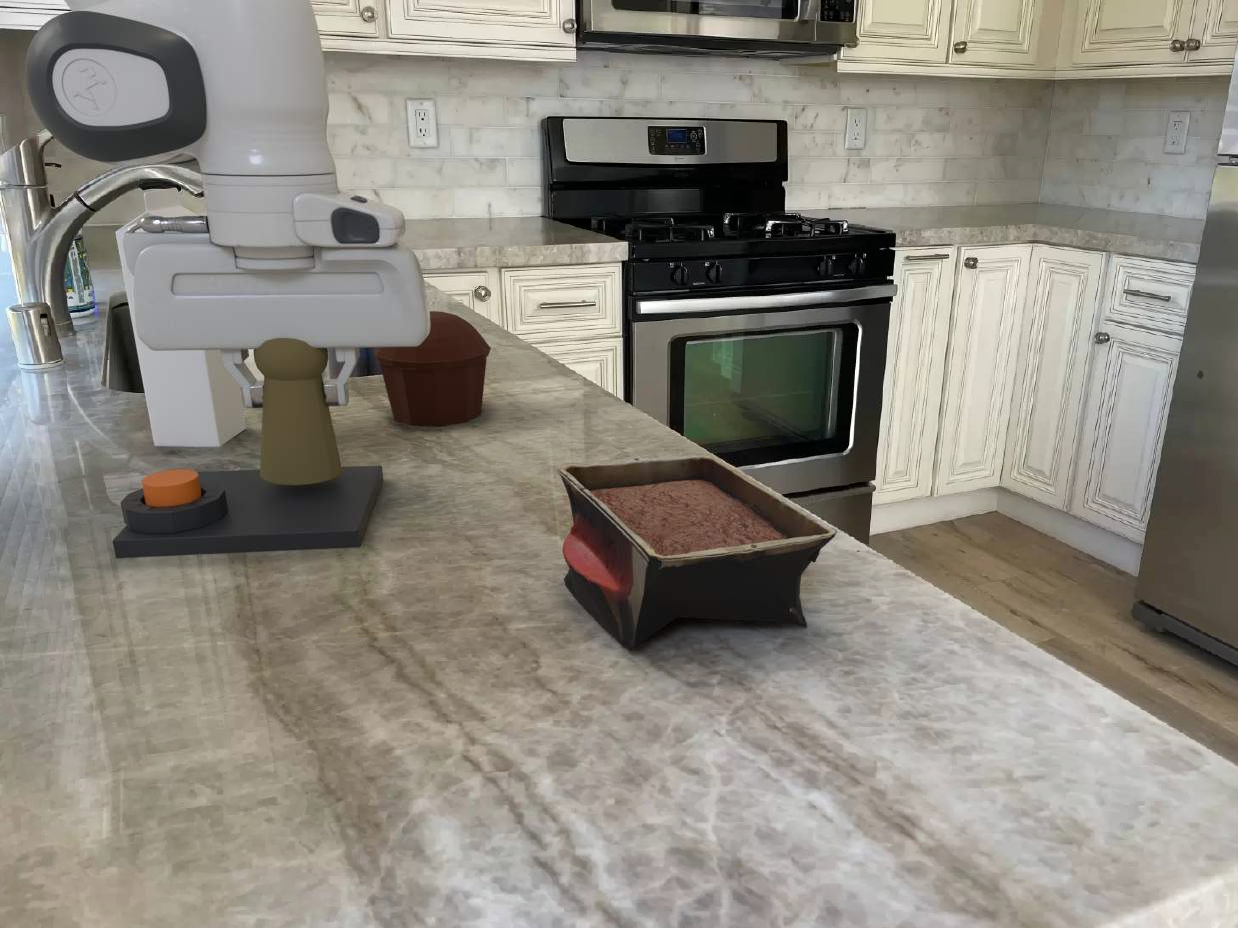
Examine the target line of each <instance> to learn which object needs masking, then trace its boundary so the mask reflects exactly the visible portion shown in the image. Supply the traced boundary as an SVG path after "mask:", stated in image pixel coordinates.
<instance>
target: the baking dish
mask: <svg viewBox="0 0 1238 928" xmlns="http://www.w3.org/2000/svg"><path fill="white" fill-rule="evenodd" d="M557 473H558V475H559V477H560V478H561V480H562V481H561V482H562V483H563V485H564V488H565V491H566V494H567V496H568V500H569V504H570V510H571V518H572V523H573V525H572V527H571V528H570V532H569V533H568V535H567V536H566V538H565V539H564V542H563V546H562V554H563V558H564V560H565V562H566V564H567V566H568V572H567V574H566V575H565V577H564V578H563V580H564V585H565V586H566V588H567V589H568V591H569V592H570V594H572V596H573V597H574V598H575V600H576V601H577V603H579V605H581V606H582V607H583V608H584V610H585V611H587V613H588V614H589V615H590V616H591V617H592V618H593V619H594V620H595V621H596V622H597V623H598V624H599V625H600V626H601V628H603V630H604V631H606V632H607V633H608V634H609V635H610V636H611V637H612V638H613V639H614V640H615V641H616V642H617V643H619V644H620V645H621V646H622V647H623V648H624V649H626V650H628V651H631V650H632V649H633V648H634V647H636V646H638V645H639V644H640V643H642V642H644V641H645V640H646V639H648V638H649V637H651V636H652V635H653V634H655V633H657V632H658V631H660V630H661V629H663V628H664V627H665V626H667V625H668V624H670V623H672V622H673V621H675V620H676V619H677V618H687V619H689V618H690V619H714V620H737V621H738V620H739V621H757V622H758V621H760V622H761V621H762V622H776V623H782V624H787V625H792V626H793V625H794V626H800V627H804V628H805V627H806V628H808V624H807V620H806V617H805V616H804V613H803V607H802V601H801V582H802V576H803V573H804V572H805V571H807V568H808V567H809V566H810V565H811V563H816V562H817V559H818V558H819V555H820V553H821V550H822V549H823V548H824V547H825V546H827V544H829V542H830V541H832V540H833V539H834V538H835V537H836V535H837V533H838V530H837V529H835V528H834V527H831V526H829V525H828V524H827V523H825V522H823V521H822V520H820V519H818V518H816V517H815V516H813V515H812V514H810V513H808V512H807V511H805V510H803V509H801V508H800V507H797V506H796V505H794V504H793V503H791V502H789V501H788V500H786V499H784V498H783V497H782V496H779V495H777V494H776V493H774V492H772V491H771V490H770V489H768V488H766V487H764V486H763V484H760V483H758V482H757V481H755V480H753V479H752V478H749V477H748V476H746V475H745V474H743V472H741V471H739V470H738V469H736V468H733V467H732V466H730V465H729V464H727V463H726V462H724V461H722V460H721V459H719V458H715V457H713V456H707V455H702V454H700V455H696V454H692V455H667V456H666V455H665V456H664V455H663V456H649V457H638V458H619V459H618V458H617V459H608V460H597V461H586V462H581V463H578V462H577V463H571V464H566V465H563V466H560V467H559V468H557Z"/></svg>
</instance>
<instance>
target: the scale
mask: <svg viewBox="0 0 1238 928" xmlns="http://www.w3.org/2000/svg"><path fill="white" fill-rule="evenodd" d="M196 472H197V473H198V476H199V482H200V488H201V494H202V498H199V499H197V500H195V501H192V502H190V503H186V504H181V505H176V506H161V507H155V506H149V505H146V502H145V497H144V491H143V487H142V488H140V489H136V490H135V491H132V492H129V493H128V494H126V496H125V497H124V498H123V499H122V500H121V501H120V508H121V512H122V519H123V523H124V524H125V526H124V527H123V528H122V529H121V531H119V533H118V534H117V535H116V536H115V537H114V538H113V539H112V540H111V541H112V546H113V551H114V555H115V559H125V558H126V559H129V558H130V559H131V558H150V557H173V556H196V555H197V556H198V555H218V554H241V553H261V552H265V553H266V552H284V551H307V550H330V549H349V548H351V549H353V548H360V547H361V545H362V542H363V539H364V537H365V534H366V531H367V528H368V525H369V522H370V520H371V517H372V513H373V511H374V509H375V505H376V503H377V499H378V497H379V494H380V491H381V489H382V485H383V482H384V473H383V466H382V465H355V466H351V465H350V466H342V472H341V474H340V475H339V476H337V477H335V478H333V479H330V480H327V481H323V482H319V483H313V484H304V485H282V484H276V483H271V482H268V481H265V480H263V479H262V478H261V477H260V469H237V470H211V471H209V470H207V471H205V470H204V471H196Z"/></svg>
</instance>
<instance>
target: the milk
mask: <svg viewBox="0 0 1238 928" xmlns="http://www.w3.org/2000/svg"><path fill="white" fill-rule="evenodd" d="M143 201H144V206H145V212H143V213H141V214H139V216H137V217H136V218H134V219H132V220H131V221H129V222H127V224H125V225H123V226H122V227H121V228H119V229H117V230H116V231H115V237H116V244H117V249H118V254H119V259H120V265H121V271H122V276H123V281H124V287H125V293H126V298H127V303H128V308H129V315H130V320H131V325H132V330H133V336H134V341H135V347H136V353H137V358H138V364H139V369H140V374H141V379H142V384H143V390H144V395H145V396H144V397H145V403H146V407H147V413H148V418H149V423H150V428H151V434H152V441H153V444H154V447H188V448H189V447H191V448H192V447H194V448H221V447H222V446H223V445H225V444H226V443H227V442H229V441H230V440H232V439H233V438H235V437H236V436H238V435H239V434H241V433H242V432H243V431H245V430H246V428H247V426H246V419H245V411H244V404H243V397H242V392H241V391H242V390H241V386H240V385H239V384H238V383H237V381H236V380H235V379H234V378H233V376H232V375H231V374H230V373H229V372H228V370H227V369H226V368H225V367H224V365H223V362H222V356H221V350H177V351H153V350H151V349H150V348H148V347H147V346H146V345H145V344H144V343H143V342H142V341H141V340H140V339H139V337H138V334H137V329H136V320H135V309H134V275H133V274H132V273H131V272H130V270H129V268H128V266H127V263H126V257H125V252H124V246H123V239H124V235H125V233H126V231H127V230H128V229H129V227H131V226H132V225H134V224H135V223H138V222H141V219H142V218H143V217H147V216H162V217H182V216H199V215H198V214H196V213H195V212H193V211H191V210H189V209H188V208H186V207H184V206H183V205H181V200H180V194H179V190H178V188H177V187H171V188H164V189H158V190H157V189H156V190H150V191H144V193H143ZM135 232H145V231H143V229H142V228H140V229H138V230H136V231H135ZM165 232H173V231H165ZM174 232H175V231H174Z"/></svg>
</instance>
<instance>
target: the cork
mask: <svg viewBox="0 0 1238 928" xmlns="http://www.w3.org/2000/svg"><path fill="white" fill-rule="evenodd" d="M252 353H253V361H254V363H255V366H256V368H257V370H258V371H259V372H260V373H261V374H262V375H263V381H264V392H263V408H262V418H261V438H260V439H261V443H260V463H259V464H260V466H259V470H260V477H261V478H262V479H263V480H265V481H268V482H271V483H276V484H282V485H304V484H313V483H319V482H323V481H327V480H330V479H333V478H335V477H337V476H339V475H340V474H341V472H342V467H343V466H342V462H341V458H340V453H339V448H338V442H337V439H336V434H335V429H334V425H333V424H334V423H333V421H332V415H331V410H330V406H326V402H325V399H326V397H327V396H326V395H325V394H324V384H325V382H324V379H323V374H324V372H325V370H326V369H327V368H328V362H329V348H314V347H311V346H310V345H309V344H307V343H306V342H305V341H301V340H298V339H293V338H274V339H270V340H267V341H265V342H264V343H263V344H262V345H261V346H259V347H258V348H257V349H253V352H252Z"/></svg>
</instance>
